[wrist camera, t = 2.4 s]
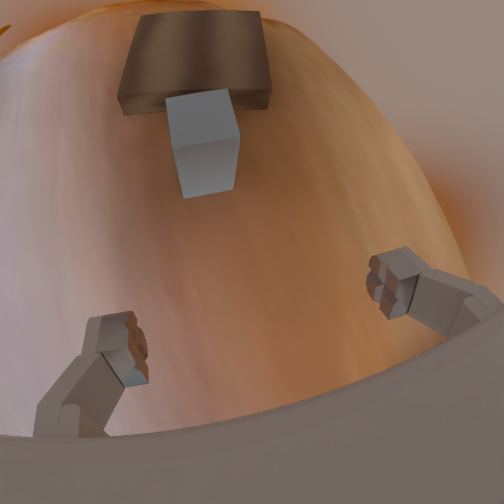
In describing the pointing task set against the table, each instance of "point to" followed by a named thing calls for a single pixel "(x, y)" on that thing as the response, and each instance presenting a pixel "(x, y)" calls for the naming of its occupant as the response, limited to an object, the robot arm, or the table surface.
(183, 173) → the slate block
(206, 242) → the table surface
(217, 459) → the robot arm
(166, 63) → the walnut plinth
